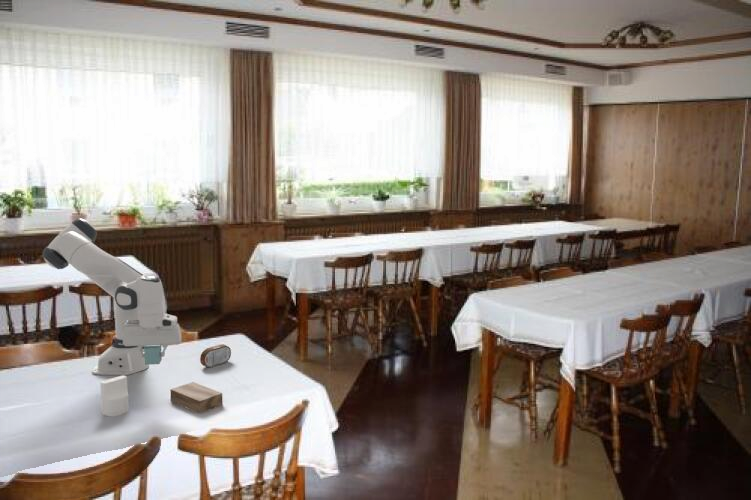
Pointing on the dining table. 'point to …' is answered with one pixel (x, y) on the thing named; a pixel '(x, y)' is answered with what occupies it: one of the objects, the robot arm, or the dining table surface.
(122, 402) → the cylinder with rectangular tab
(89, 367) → the dining table surface
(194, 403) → the walnut block
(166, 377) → the dining table surface
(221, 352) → the tin
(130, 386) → the dining table surface
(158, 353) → the teal cube
